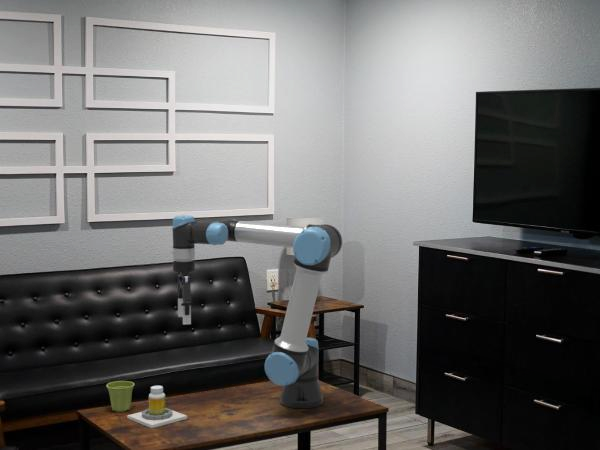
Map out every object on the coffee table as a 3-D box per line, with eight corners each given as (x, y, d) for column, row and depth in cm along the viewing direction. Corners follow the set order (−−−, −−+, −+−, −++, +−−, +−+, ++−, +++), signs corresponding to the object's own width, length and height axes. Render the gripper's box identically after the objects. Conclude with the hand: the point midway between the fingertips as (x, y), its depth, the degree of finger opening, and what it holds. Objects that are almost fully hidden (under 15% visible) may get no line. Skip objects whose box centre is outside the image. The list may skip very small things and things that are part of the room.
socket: (187, 418, 292) (187, 412, 292) (151, 428, 282) (151, 421, 282) (162, 409, 302) (162, 403, 302) (127, 418, 292) (127, 411, 292)
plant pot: (106, 414, 297) (106, 388, 296) (106, 406, 306) (106, 381, 305) (135, 412, 299) (134, 387, 298) (134, 404, 308) (134, 380, 307)
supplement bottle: (148, 413, 294) (147, 385, 293) (164, 412, 295) (164, 384, 294) (149, 418, 289) (149, 389, 288) (166, 417, 290) (165, 388, 289)
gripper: (169, 255, 319) (169, 314, 321) (177, 265, 295) (177, 328, 297) (190, 255, 321) (190, 313, 323) (199, 264, 297) (200, 326, 299)
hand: (184, 320), depth 310 cm, fingers open, 13 cm apart
